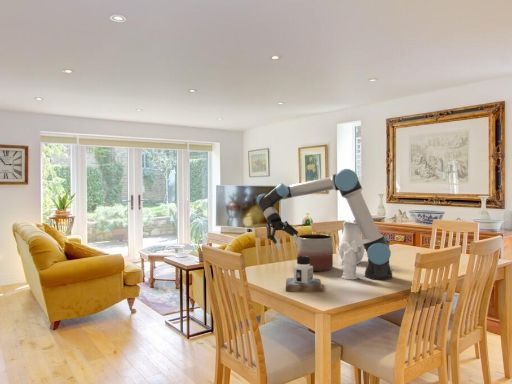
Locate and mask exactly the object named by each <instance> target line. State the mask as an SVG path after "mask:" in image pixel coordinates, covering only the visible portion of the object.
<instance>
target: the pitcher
mask: <svg viewBox="0 0 512 384" xmlns="http://www.w3.org/2000/svg"><path fill="white" fill-rule="evenodd" d="M342 225H343V231H342V234H341V237H340V240H339V241H338V242H339V243H338V255H339V257H340V259H341V260H342V259H343V257H344V251H342V249H341V247H340V244H341V243H342V242H343V241H346V242H348V243H349V244H350V246H351V244H352V242H354V241H355V242H356V245H358V246H360V245H361V247H362V248H361V252H357V254H358V259H359V263H361V261H362V260H363V258H364V255H365V247H364V245H363V241H364V239H363V236H362V233H361V231H360V229H359V227H358V224H357V222H355V221H354V222H352V221H350V220H349V219H345V220H344V222H343V223H342ZM351 248H352V246H351ZM359 263H358V264H359Z"/></svg>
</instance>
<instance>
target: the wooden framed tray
mask: <svg viewBox="0 0 512 384" xmlns="http://www.w3.org/2000/svg"><path fill="white" fill-rule="evenodd" d="M285 292H301V293H302V292H306V293H312V292H313V293H314V292H315V293H323V285H322V282H321V278H318V277H317V278H315V277H313V281H311V282H310V283H308V284H305V283H297V282H294V277H288V278H286V280H285Z"/></svg>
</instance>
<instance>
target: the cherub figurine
mask: <svg viewBox="0 0 512 384" xmlns="http://www.w3.org/2000/svg"><path fill="white" fill-rule="evenodd" d="M351 246H352V248H351ZM351 246H350V244H349V243H348V242H346V241H343V242H342V243H341V244H340V247H341V249H342V251H344V257H343V259H341V262H340V266H341V267H342V269H341V270H342V274H341V278H342V279H344V280H357V279H358V276H357V275H356V272H357V269H358V268H357V265H359V259H358V254H357V252H361V248H362V247H361V245H360V246H358V245H356V242H355V241H354V242H352V244H351Z"/></svg>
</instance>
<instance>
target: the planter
mask: <svg viewBox="0 0 512 384" xmlns="http://www.w3.org/2000/svg"><path fill="white" fill-rule="evenodd" d="M297 236H298V238H299V241H300V242H301V244H300V245H299V246H297V255H296V256H297V257H299V256H308V257H309V258H310V265H309V266H313V272H325V271H330V270H331V269H332V268H333V265H334V261H333V259H334V258H333V257H334V256H333V254H334V253H333V249H334V248H333V236H331V235H330V234H329V235H328V234H321V233H320V234H316V233H315V234H314V233H313V234H312V233H309V234H307V233H305V234H300V235H297ZM297 257H296V258H297Z"/></svg>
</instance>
